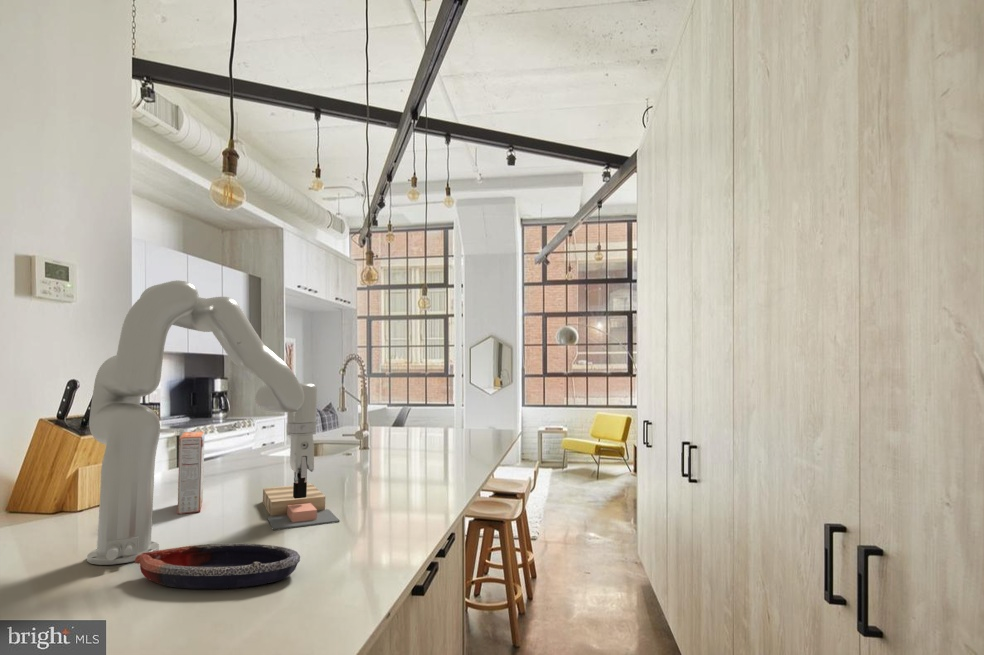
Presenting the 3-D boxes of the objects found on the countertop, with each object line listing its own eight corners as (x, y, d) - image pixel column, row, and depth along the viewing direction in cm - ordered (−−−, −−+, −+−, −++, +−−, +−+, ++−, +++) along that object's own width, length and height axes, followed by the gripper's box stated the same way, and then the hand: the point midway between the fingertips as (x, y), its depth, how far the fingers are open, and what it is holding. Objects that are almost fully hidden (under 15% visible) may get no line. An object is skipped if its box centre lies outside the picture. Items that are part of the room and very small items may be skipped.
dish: (278, 598, 95) (279, 567, 95) (109, 592, 97) (111, 563, 98) (314, 566, 110) (314, 540, 111) (167, 562, 113) (169, 537, 113)
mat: (339, 521, 142) (339, 520, 142) (273, 530, 135) (273, 528, 135) (328, 510, 154) (328, 509, 154) (267, 517, 146) (267, 516, 146)
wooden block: (325, 511, 153) (325, 496, 154) (271, 517, 147) (271, 502, 147) (311, 496, 171) (311, 483, 171) (262, 501, 164) (263, 488, 164)
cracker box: (179, 503, 162) (183, 431, 164) (203, 501, 164) (206, 430, 166) (175, 515, 149) (178, 436, 151) (200, 512, 152) (203, 435, 153)
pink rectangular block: (316, 519, 143) (316, 509, 144) (292, 522, 140) (292, 512, 141) (310, 511, 151) (310, 502, 151) (286, 514, 148) (287, 505, 149)
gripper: (321, 430, 146) (319, 501, 145) (310, 425, 159) (309, 490, 158) (291, 432, 143) (289, 504, 141) (283, 427, 156) (281, 493, 154)
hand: (299, 497), depth 149 cm, fingers closed
